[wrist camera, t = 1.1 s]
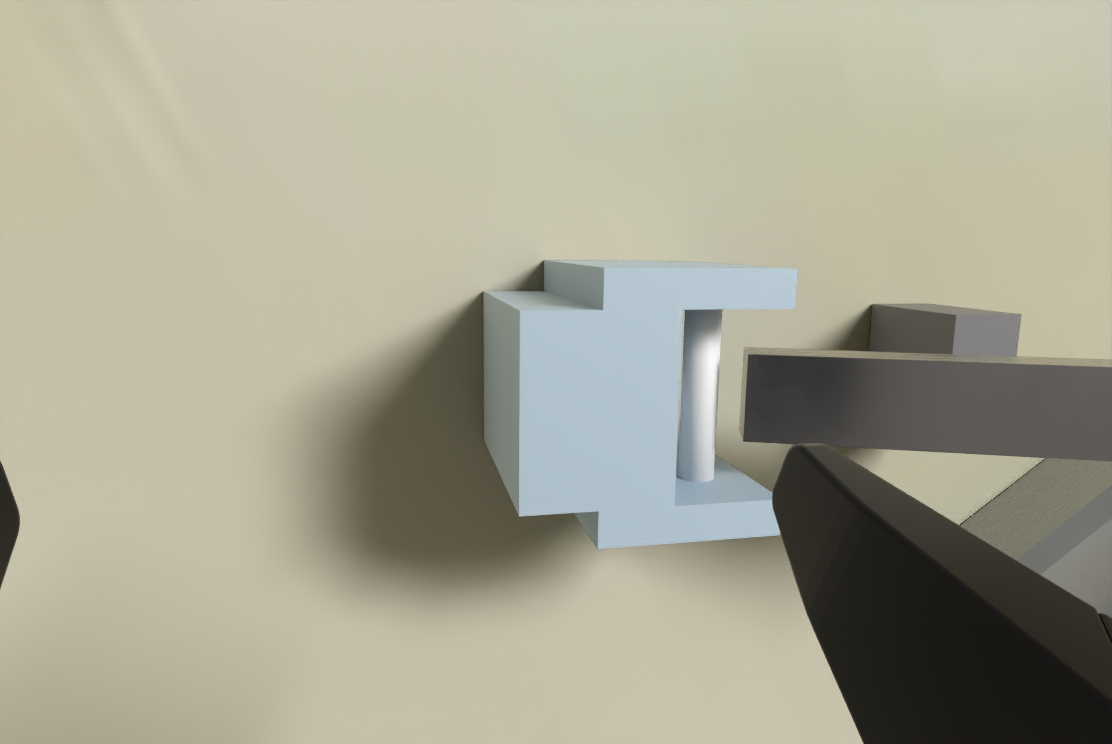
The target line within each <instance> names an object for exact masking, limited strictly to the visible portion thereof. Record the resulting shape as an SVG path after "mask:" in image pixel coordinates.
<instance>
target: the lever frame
mask: <svg viewBox="0 0 1112 744" xmlns="http://www.w3.org/2000/svg"><path fill="white" fill-rule="evenodd" d="M797 272H798V269H795V268H780V267H765V266H750V265H734V264H719V263H704V262H689V261H570V260H544V291H483V317H484V441H485V443H486V446H487V448H488V450H489V452H490V454H491V456H492V459H493V461H494V463H495V465H496V467H497V469H498V472H499V474H500V476H501V478H502V480H503V483H504V485H505V487H506V489H507V491H508V493H509V496H510V498H511V500H512V502H513V504H514V506H515V509H516V511H517V513H518V515H519V517H520V516H535V515H550V514H565V513H574V514H575V516H576V517H577V519H578V520H579V522H580V523H581V525H582V526H583V528H584V529H585V531H586V532H587V534H588V535H589V537H590V538H591V540H592V541H593V543H594V544H595V546H596V547H597V549H608V548H621V547H634V546H647V545H660V544H673V543H685V542H698V541H711V540H724V539H737V538H750V537H763V536H776V535H780V530H779V527H778V524H777V520H776V517H775V514H774V511H773V506H772V494H773V493H772V492H771V491H769V490H768V489H766V488H765V487H763V486H762V485H760V484H759V483H757V482H756V481H754V480H753V479H751V478H750V477H748V476H747V475H745V474H744V473H742V472H740V471H739V470H737V469H736V468H734V467H733V466H731V465H730V464H728V463H727V462H725V461H724V460H722V459H721V458H719V457H718V456H716V455H715V440H716V420H717V400H718V380H719V361H720V341H721V321H722V309H795V302H796V287H797ZM683 310H685V324H684V348H683V372H682V396H681V420H680V432H678V410H679V386H680V362H681V338H682V313H683ZM1020 322H1021V314H1014V313H1005V312H996V311H988V310H979V309H970V308H962V307H953V306H944V305H936V304H873V305H872V317H871V329H870V341H869V351H871V352H900V353H930V354H959V355H988V356H1016V355H1017V347H1018V339H1019V330H1020Z"/></svg>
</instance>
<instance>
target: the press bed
mask: <svg viewBox="0 0 1112 744" xmlns="http://www.w3.org/2000/svg"><path fill="white" fill-rule="evenodd" d="M960 526H961V527H962V528H964V529H966V530H967V531H969V532H971V533H972V534H974V535H976V536H977V537H979V538H981V539H982V540H984V541H986V542H987V543H989V544H990V545H992V546H994V547H995V548H997V549H999V550H1000V551H1002V552H1004V553H1005V554H1007V555H1009V556H1010V557H1012V558H1014V559H1015V560H1017V561H1019V562H1020V563H1022V564H1023V565H1025V566H1027V567H1028V568H1030V569H1032V570H1033V571H1035V572H1037V573H1038V574H1040V575H1042V576H1043V577H1045V578H1047V579H1048V580H1050V581H1052V582H1053V583H1055V584H1056V585H1058V586H1060V587H1061V588H1063V589H1065V590H1066V591H1068V592H1070V593H1071V594H1073V595H1075V596H1076V597H1078V598H1080V599H1081V600H1083V601H1085V602H1086V603H1088V604H1089V605H1091V606H1093V607H1094V608H1096V610H1097V612H1098V613H1104V614H1106V615H1108V616H1110V617H1111V618H1112V462H1111V461H1093V460H1075V459H1056V458H1046V459H1045V460H1044V461H1043V462H1041V463H1040V464H1039V465H1037V466H1036V467H1035V468H1034V469H1032V470H1031V471H1030V472H1028V473H1027V474H1026V475H1025V476H1023V477H1022V478H1021V479H1019V480H1018V481H1017V482H1015V483H1014V484H1013V485H1012V486H1010V487H1009V488H1008V489H1006V490H1005V491H1004V492H1003V493H1001V494H1000V495H999V496H997V497H996V498H995V499H993V500H992V501H991V502H990V503H988V504H987V505H986V506H984V507H983V508H982V509H981V510H979V511H978V512H977V513H975V514H974V515H973V516H972V517H970V518H969V519H968V520H966V521H965V522H964V523H962V524H961V525H960Z"/></svg>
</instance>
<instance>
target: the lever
mask: <svg viewBox="0 0 1112 744" xmlns="http://www.w3.org/2000/svg"><path fill="white" fill-rule="evenodd" d="M739 429H740V433H741V436H742V439H743V441H745V442H764V443H782V444H814V443H819V444H825V445H827V446H837V447H855V448H873V449H892V450H910V451H928V452H947V453H965V454H983V455H1001V456H1020V457H1038V458H1056V459H1075V460H1093V461H1111V462H1112V360H1105V359H1076V358H1046V357H1017V356H988V355H959V354H930V353H900V352H871V351H842V350H813V349H783V348H754V347H744V357H743V375H742V392H741V410H740V428H739Z"/></svg>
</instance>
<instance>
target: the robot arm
mask: <svg viewBox="0 0 1112 744" xmlns="http://www.w3.org/2000/svg"><path fill="white" fill-rule="evenodd" d="M772 506H773V511H774V514H775V517H776V520H777V524H778V527H779V530H780V533H781V536H782V539H783V542H784V545H785V549H786V552H787V555H788V558H789V561H790V564H791V567H792V571H793V574H794V577H795V580H796V583H797V586H798V589H799V592H800V596H801V598H802V601H803V604H804V607H805V610H806V612H807V615H808V617H809V620H810V622H811V625H812V627H813V630H814V632H815V634H816V637H817V639H818V641H819V643H820V646H821V648H822V650H823V652H824V655H825V657H826V659H827V662H828V664H829V666H830V668H831V671H832V673H833V675H834V677H835V680H836V682H837V684H838V687H839V689H840V691H841V693H842V696H843V698H844V700H845V702H846V705H847V707H848V709H849V712H850V714H851V716H852V718H853V721H854V723H855V725H856V727H857V730H858V732H859V734H860V737H861V739H862V741H863V743H864V744H1112V618H1111V617H1110V616H1108V615H1106V614H1104V613H1098V612H1097V610H1096V608H1094V607H1093V606H1091V605H1089V604H1088V603H1086V602H1085V601H1083V600H1081V599H1080V598H1078V597H1076V596H1075V595H1073V594H1071V593H1070V592H1068V591H1066V590H1065V589H1063V588H1061V587H1060V586H1058V585H1056V584H1055V583H1053V582H1052V581H1050V580H1048V579H1047V578H1045V577H1043V576H1042V575H1040V574H1038V573H1037V572H1035V571H1033V570H1032V569H1030V568H1028V567H1027V566H1025V565H1023V564H1022V563H1020V562H1019V561H1017V560H1015V559H1014V558H1012V557H1010V556H1009V555H1007V554H1005V553H1004V552H1002V551H1000V550H999V549H997V548H995V547H994V546H992V545H990V544H989V543H987V542H986V541H984V540H982V539H981V538H979V537H977V536H976V535H974V534H972V533H971V532H969V531H967V530H966V529H964V528H962V527H961V526H959V525H958V524H956V523H954V522H953V521H951V520H949V519H948V518H946V517H944V516H943V515H941V514H939V513H938V512H936V511H934V510H933V509H931V508H930V507H928V506H926V505H925V504H923V503H921V502H920V501H918V500H916V499H915V498H913V497H911V496H910V495H908V494H906V493H905V492H903V491H902V490H900V489H898V488H897V487H895V486H893V485H892V484H890V483H888V482H887V481H885V480H883V479H882V478H880V477H878V476H877V475H875V474H873V473H872V472H870V471H869V470H867V469H865V468H864V467H862V466H860V465H859V464H857V463H855V462H854V461H852V460H850V459H849V458H847V457H845V456H844V455H842V454H841V453H839V452H837V451H836V450H834V449H832V448H831V447H829V446H827V445H825V444H819V443H814V444H796V445H793V446H792V447H791V448H790V449H789V451H788V453H787V455H786V458H785V460H784V463H783V466H782V468H781V471H780V473H779V476H778V479H777V481H776V484H775V486H774V489H773V494H772ZM19 526H20V516H19V510H18V507H17V504H16V501H15V499H14V496H13V493H12V490H11V487H10V485H9V482H8V479H7V476H6V473H5V471H4V468H3V465H2V463H1V461H0V588H1V585H2V582H3V579H4V576H5V573H6V570H7V567H8V564H9V561H10V558H11V555H12V552H13V548H14V545H15V542H16V539H17V536H18V532H19Z"/></svg>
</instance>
